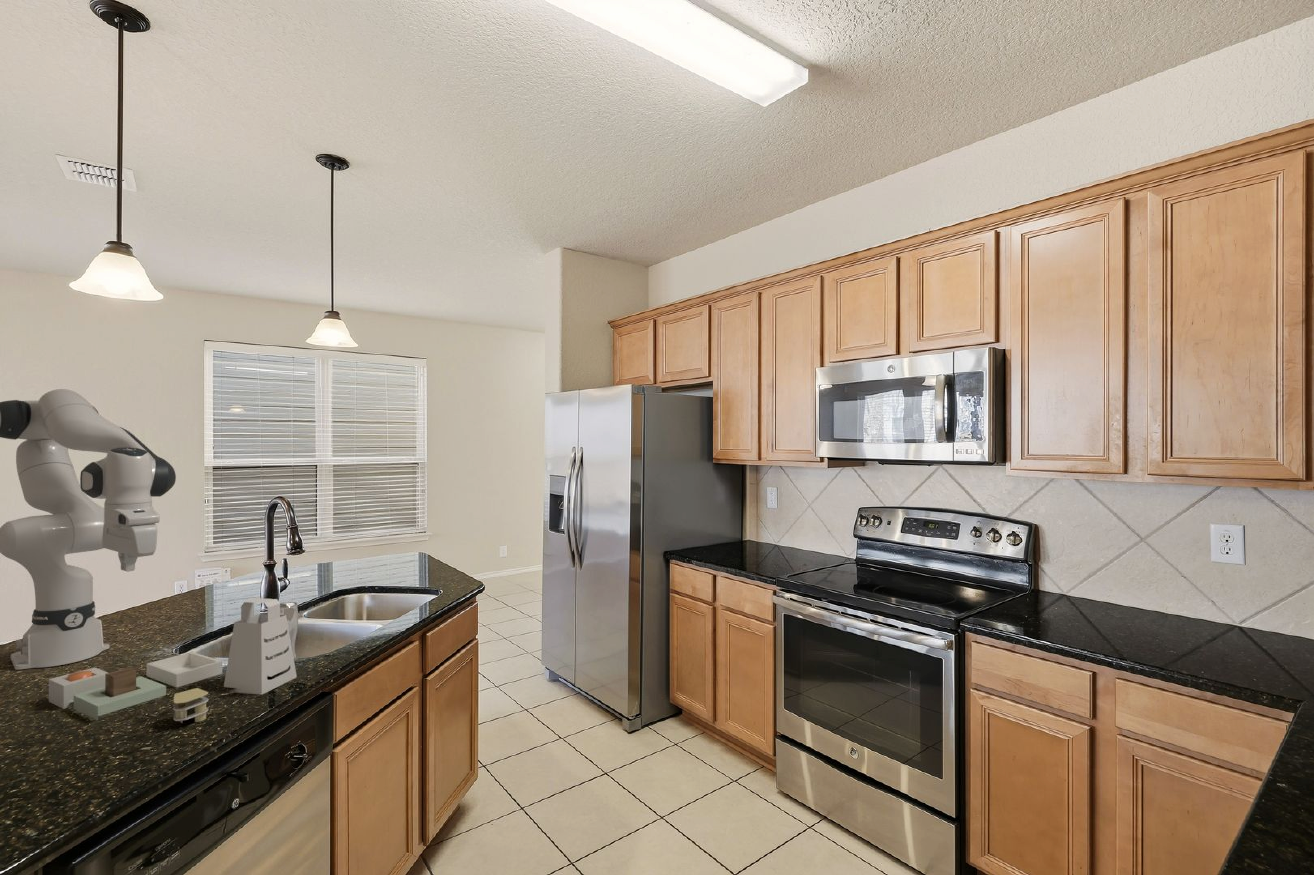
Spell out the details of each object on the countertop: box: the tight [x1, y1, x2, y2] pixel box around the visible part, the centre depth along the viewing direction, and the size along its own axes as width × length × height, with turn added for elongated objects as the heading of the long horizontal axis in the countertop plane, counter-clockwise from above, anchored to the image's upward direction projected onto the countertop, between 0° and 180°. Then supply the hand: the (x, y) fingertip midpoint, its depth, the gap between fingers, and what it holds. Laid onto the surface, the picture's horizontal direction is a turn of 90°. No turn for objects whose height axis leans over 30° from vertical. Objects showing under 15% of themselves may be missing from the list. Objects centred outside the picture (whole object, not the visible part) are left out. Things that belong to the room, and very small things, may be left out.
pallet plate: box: [73, 675, 167, 722], centre depth 135 cm, size 12×12×3 cm
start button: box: [68, 670, 92, 682], centre depth 138 cm, size 4×4×3 cm
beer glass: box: [266, 601, 299, 660], centre depth 160 cm, size 7×7×15 cm
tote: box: [146, 651, 223, 688], centre depth 149 cm, size 15×10×4 cm, turn 62°
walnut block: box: [105, 667, 137, 698], centre depth 135 cm, size 4×4×6 cm
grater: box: [223, 597, 298, 696], centre depth 146 cm, size 10×10×20 cm
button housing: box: [48, 667, 109, 710], centre depth 138 cm, size 8×8×5 cm
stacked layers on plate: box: [172, 687, 209, 724], centre depth 127 cm, size 10×9×6 cm
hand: (127, 570), depth 149 cm, fingers closed
